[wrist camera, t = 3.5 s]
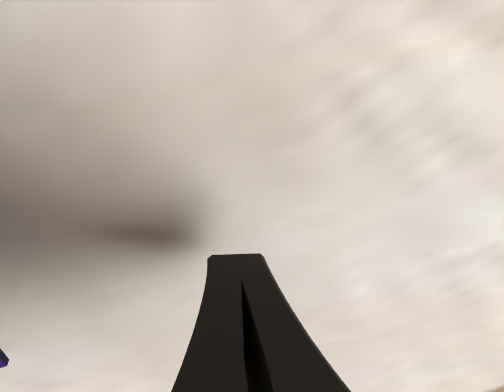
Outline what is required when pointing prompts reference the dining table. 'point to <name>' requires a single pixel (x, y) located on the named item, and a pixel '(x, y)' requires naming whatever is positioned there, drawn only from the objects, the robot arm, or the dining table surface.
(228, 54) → the dining table surface
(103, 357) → the dining table surface
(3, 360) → the toy airplane
